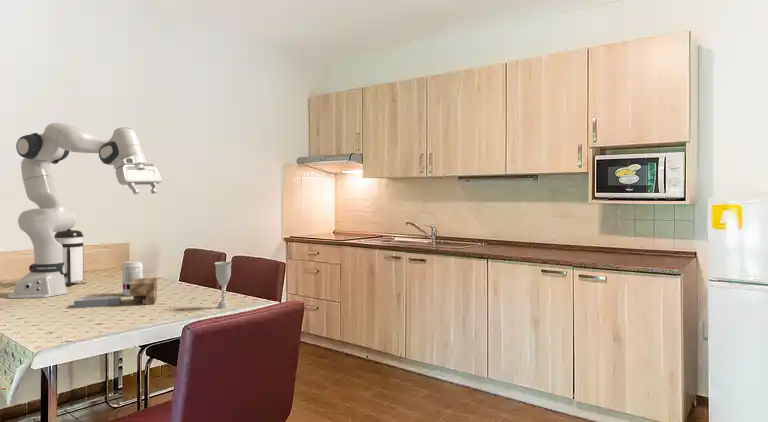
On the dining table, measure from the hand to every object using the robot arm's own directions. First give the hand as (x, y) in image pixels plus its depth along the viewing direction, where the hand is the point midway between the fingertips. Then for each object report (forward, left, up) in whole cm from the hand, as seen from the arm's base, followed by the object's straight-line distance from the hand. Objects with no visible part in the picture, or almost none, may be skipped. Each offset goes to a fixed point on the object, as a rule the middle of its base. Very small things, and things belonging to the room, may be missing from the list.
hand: (145, 193), depth 221 cm
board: (-18, -1, -46) cm, 49 cm away
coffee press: (-42, +57, -46) cm, 85 cm away
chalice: (+30, -21, -46) cm, 59 cm away
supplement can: (-8, +19, -46) cm, 51 cm away
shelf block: (-1, 0, -46) cm, 46 cm away
